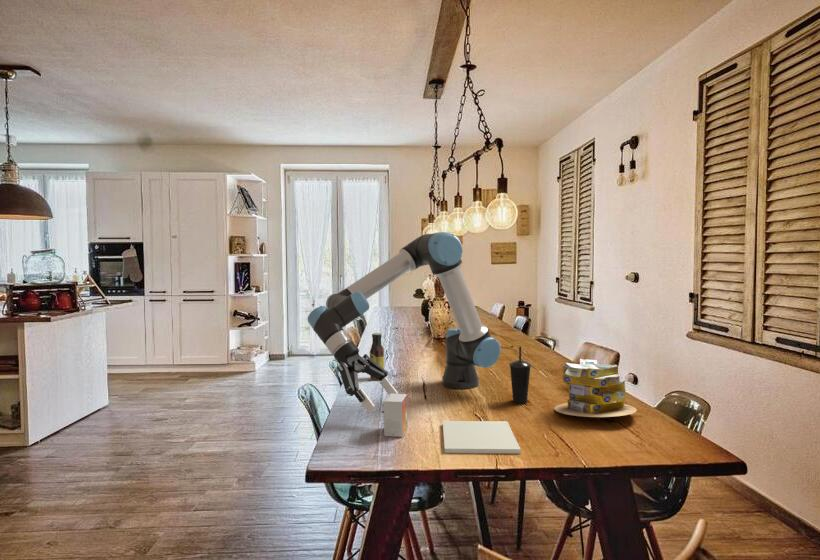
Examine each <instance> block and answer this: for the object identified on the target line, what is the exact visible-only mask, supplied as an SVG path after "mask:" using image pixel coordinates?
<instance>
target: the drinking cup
mask: <svg viewBox="0 0 820 560" xmlns="http://www.w3.org/2000/svg"><path fill="white" fill-rule="evenodd" d="M518 350H519V351H518V354H519V355H518V357H519V359H518V360H514V361H511V362H509V364H508V365H509V369H510V370H509V371H510V378H511V381H510V382H511V391H512V392H511V393H512V402H513V403H514V404H520V405H524V404H527V403H528V395H529V387H530V386H529V385H530V376H531V375H530V374H531V373H530V372H531V367H532V363H530V362H528V361H525V360H522V346H519V347H518Z"/></svg>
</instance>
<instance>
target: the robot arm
mask: <svg viewBox="0 0 820 560" xmlns="http://www.w3.org/2000/svg"><path fill="white" fill-rule="evenodd" d="M463 251H464V249H463V245H462V242H461V241H460V238H459V237H457V236H456V235H454V233H450V232H445V231H439V232H435V233H426V234H422V235H420V236H418V237H417V238H415V239H414V240H412V241H411V242H409V243H408V244H406V245H405V246H403V247H402V248H401V249H399V251H398V254H396V255H395V256H393V257H392V258H390V259H388V260H387V261H386V262H383V263H382V264H381V265H379V266H378V267H376V268H375V269H373V270H371V271H369V272H368V273H367V274H365V275H364V276H363V277H360V278H359V279H358V280H356V281H354V282H353V283H351V284H350V285H349V286H346V287H345V288H344V289H343V290H341V291H339V292H338V293H332V294H330V295H329V296H328V297H327V299H326V301H325V305H320V306H317V307H316V308H314V309H313V310H311V311H310V313H309V314H308V316H307V323H308V324H309V325H310V326H311V328H312V329H313V331H314V332H315V334H316V335H317V337H318V338H319V339H320V340H321V342H322V343H323V344H324V345H325V347H326V348H327V349H328V350H329V352H330V353H331V355H333V358H334V359H335V361H336V362H337V363H338V364H339V365H337V367H336V368H337V371H338V372H339V374H340V378H341V380H342V383H343V387H344V390H345V393H346V394H347V395H349V396H351V397H353V396H354V397H355V398H356V399H357V401H358V402H359V403H360V404H361V405H362V406H363V407H364V409H365V410H366V411H367V412H368V413H369V412H371V411H372V410H373V409H374V407H375V406H376V405H375V403H374V402H373V401H372V400H371V399H370V397H369V396H368V395H367V393H366V392H365V391H364V390H363V387H362V388H361V387H360V385H359V383H360V382H359V375H358V374H360V373H362V374H363V373H364V374H367V375H368V376H372V377H374V378H376V379H378V380H377V381H379V384H380V385H381V386H382V388H383V389H384V391H385V392H386V393H387V394H388V396H389V395H390V394H391V393H392V394H399V392H398V391H397V389H396V388H395V387H394V385H392V383H391V382H390V380H389V379H388V377H387V376H389V375H388V374H389V372H388V370H386V369H385V368H384V369H383V368H382V367H381V366H379V365H378V364H377V363H375V362H374V361H373V360H372V359H370V355H368V354H367V353H365V354H363V356H360V354H359V351H360V349H359V348H358V346H357V345H356V344H355V342H353V341H352V339H351V337H350V336H349V335H348V333H347V332H346V331H345V330H344V329H343V328H344V327H346V326H347V325H349V324H350V323H351V322H354V321H355V320H356V319H357V318H358V319H359V317H360V316H363V315H364V314H365V313H366V312H367V311H369V309H370V304H369V303H370V302H369V301H368V299H369V298H370V297H372V296H374V295H375V294H377V292H380V291H381V290H383V289H385V288H386V287H387V286H389V285H390V284H392V283H393V282H395V281H396V280H397V279H399V278H401V277H402V276H403V275H405V274H407V272H409V271H412V272H414V271H415V270H417V269H419V268H421V267H424V266H429V268H430V270H431V273H432V275H434V276H436V277H437V278H438V279H439V282H440V285H441V287H442V289H443V292H444V294H445V298H446V299H447V301H448V305H449V307H450V309H451V312H452V314H453V316H454V320H455V321H456V324H457V327H458V328H457V327H456V328H449V329H447V330H446V332H445V333H446V334H445V346H446V347H445V352H446V353H445V354H446V355H445V357H446V358H445V360H446V361H445V363H446V364H445V368H444V372H443V376H442V378H441V384H442V386H444V387H447V388H452V389H457V390H459V389H460V390H462V389H463V390H464V389H471V388H472V389H473V388H476V387H478V386H479V385H480V377H479V376H478V372H477V369H476V367H479V368H483V369H486V368H490V367H491V368H492V366H494V365H495V364H496V363H497V362H498V360H499V359H500V358H499V357H500V355H501V352H502V350H501V348H502V347H501V344H500V342H499V341H498V340H497V339H496V338H494V337H493V336H491V333H490V329H489V328H488V326H486V325H485V324H483V323H482V321H481V319H480V315H479V313H478V311H477V308H476V306H475V303H474V300H473V298H472V295H471V293H470V290H469V287H468V285H467V283H466V280H465V277H464V275H463V272H462V269H461V267H462V265H463V261H462V256H463V255H462V254H463Z"/></svg>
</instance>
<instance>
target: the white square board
mask: <svg viewBox="0 0 820 560" xmlns="http://www.w3.org/2000/svg"><path fill="white" fill-rule="evenodd" d="M442 433H443V434H442V435H443V447H444V454H514V455H515V454H518V455H519V454H521V452H522V451H521V447H520V445H519V443H518V441H517V438H516V436H515V434H514V433H513V431H512V428H511V426H510V424H509V422H508V421H507V420H506V421H504V420H503V421H501V420H500V421H498V420H497V421H495V420H493V421H492V420H491V421H490V420H488V421H487V420H476V421H475V420H443V421H442Z"/></svg>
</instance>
